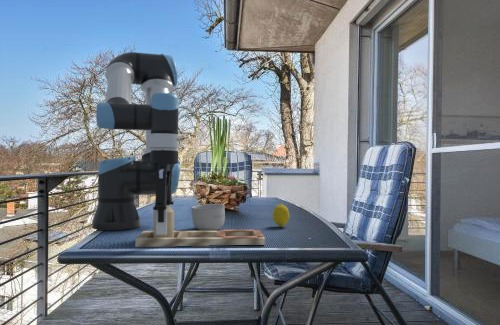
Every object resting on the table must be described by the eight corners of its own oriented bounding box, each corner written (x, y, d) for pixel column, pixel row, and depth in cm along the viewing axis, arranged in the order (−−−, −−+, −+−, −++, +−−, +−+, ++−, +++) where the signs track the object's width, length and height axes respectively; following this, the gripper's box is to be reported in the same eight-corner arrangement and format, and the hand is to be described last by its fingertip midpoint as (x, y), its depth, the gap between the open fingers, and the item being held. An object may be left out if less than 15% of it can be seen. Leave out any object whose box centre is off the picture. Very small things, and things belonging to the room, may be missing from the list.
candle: (177, 240, 114) (177, 205, 114) (167, 244, 109) (167, 207, 109) (160, 239, 116) (160, 204, 116) (149, 243, 111) (149, 206, 111)
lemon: (291, 226, 140) (292, 203, 140) (284, 229, 135) (284, 205, 135) (277, 225, 143) (277, 202, 143) (269, 227, 138) (270, 203, 138)
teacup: (219, 233, 126) (219, 207, 126) (186, 232, 128) (186, 206, 128) (230, 226, 140) (230, 203, 140) (200, 224, 142) (200, 202, 142)
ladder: (135, 246, 106) (135, 238, 106) (143, 237, 118) (143, 229, 118) (265, 245, 109) (265, 237, 109) (260, 237, 121) (260, 229, 121)
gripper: (174, 149, 102) (173, 238, 102) (181, 150, 124) (180, 224, 124) (143, 148, 101) (142, 238, 101) (156, 150, 123) (155, 224, 123)
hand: (163, 230), depth 113 cm, fingers open, 9 cm apart
